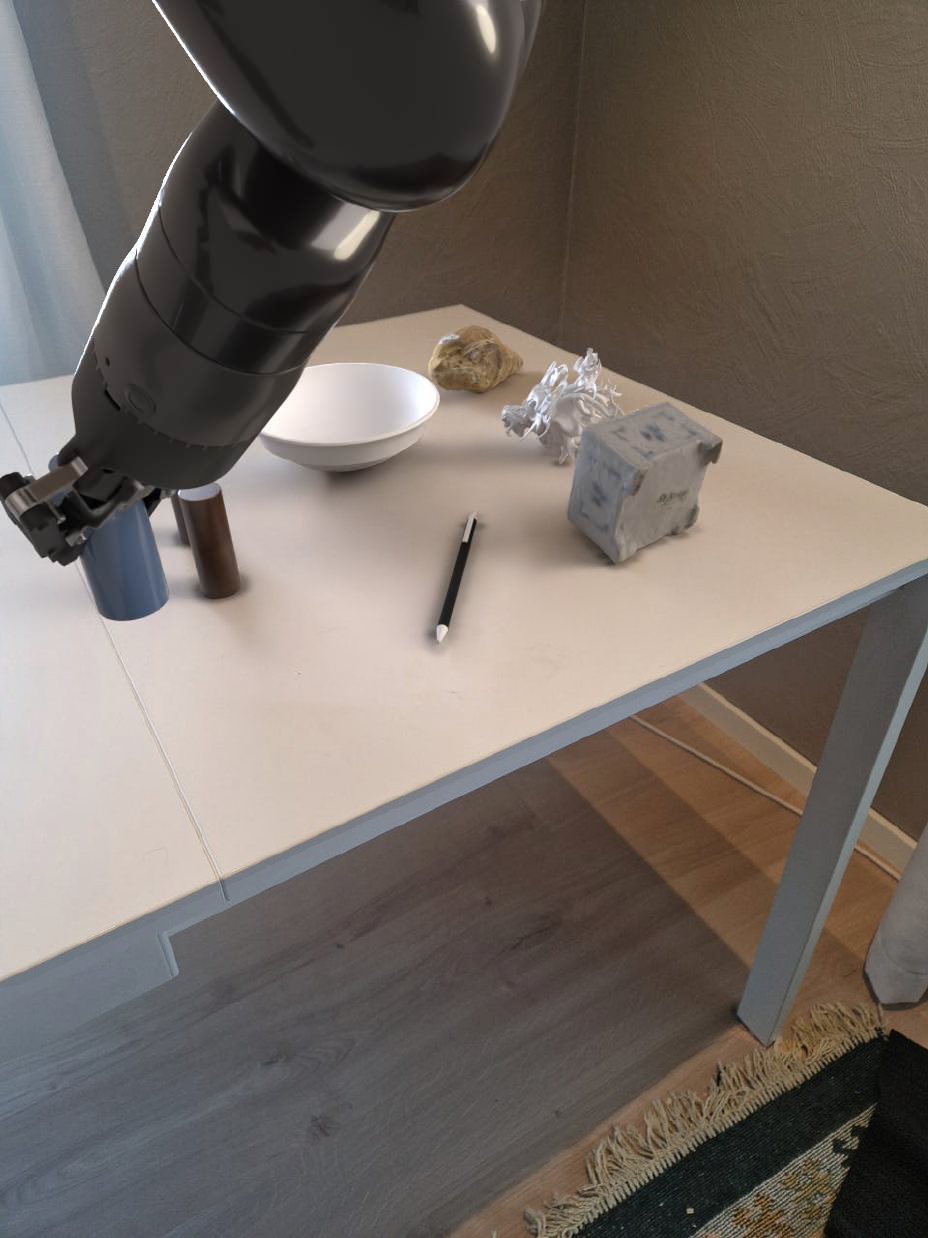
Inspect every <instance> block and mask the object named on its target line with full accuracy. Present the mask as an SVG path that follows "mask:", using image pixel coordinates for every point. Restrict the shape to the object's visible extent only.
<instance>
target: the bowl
mask: <svg viewBox="0 0 928 1238" xmlns="http://www.w3.org/2000/svg"><path fill="white" fill-rule="evenodd" d="M439 392H440V391H439V390H438V389H437V387H436V385H435V383H434V382H432V381H431V380H429V379H428V378H427V377H425V376H423V375H421V374H420V373H418V372H416V371H412V370H409V369H406V368H402V367H398V366H393V365H388V364H381V363H371V362H340V363H339V362H337V363H327V364H319V365H313V366H306V367H305V369H304V371H303V373H302V375H301V378H300V379H299V381H298V383H297V385H296V386H295V388H294V389H293V391H292V392H291V393H290V395H289V396H288V398H287V399H286V400H285V402H284V403H283V404H282V406H281V407H280V408H279V409H278V411H277V412H276V413H275V414H274V416H273V417H272V418H271V419H270V421H269V422H268V423H267V425H266V426H265V427H264V428H263V430H262V431H261V432H260V433H259V435H258V436H257V438H258V440H259V442H260V443H261V445H262V446H263V448H264V449H265V450H266V451H268V452H270V453H271V454H272V455H274V456H277V457H279V458H281V459H283V460H287V461H289V462H293V463H295V464H297V465H300V466H302V467H305V468H308V469H311V470H312V469H313V470H318V471H326V472H335V473H336V472H339V473H341V472H352V471H359V470H364V469H367V468H371V467H374V466H376V465H379V464H382V463H384V462H386V461H388V460H390V459H392V458H393V457H395V456H397V455H398V454H399V453H401V452H402V451H405V450H406V449H408V448H410V447H411V446H413V445H414V444H416V443H417V442H418V440H420V438H421V437H422V436H424V433H425V430H426V428H427V425H428V422H429V420H430V418H431V417H432V416H433V414H435V412H436V411H437V410H438V408H439V406H440V402H441V401H440V400H441V399H440V393H439Z"/></svg>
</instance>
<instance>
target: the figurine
mask: <svg viewBox="0 0 928 1238" xmlns="http://www.w3.org/2000/svg"><path fill="white" fill-rule="evenodd" d="M582 360H583V356H582V355H581V356H580V357H579V358H578V359H577V360H576V362H575V363H574V365H573V367H572V371H573V372H575V373H578V374H579V376H578V377H577V379H575V380H574V381H573V382H571V383H569V382H568V380H567V378H568V377H569V374H568V373H569V367H568V365H567V364H565V363H563V364H561V365H559V366H558V367H556V366H557V364H558V361H556V360H554V361H553V362H552V363H551V365H550V366H549V368H548V369H547V371H546V373H545V374H544V375H543V378H542V380H541V381H540V383H537V384H535V385H534V386H533V387H532V389H531V391H530V393H529V395H528V396H527V397H526V398H525V400H524V401H523V402H522V403H521V405H517V404H515V405H514V404H513V405H510V404H506V405H504V407H503V408H502V411H501V416H500V420H501V421H502V422H503V428H505V434H506V436H507V437H509V438H511V437H512V434H510V432H511V431H512V432H514V434H515V435H516V436H517V437H519V438H520V439H519V441H518V443H521V442H522V441H523V440H524V439H525V438H526V437H527V436H528V435H529V434H530V433H534V434H535V435H537V437H536V438H535V439H536V440H538V441H539V443H540V444H541V445H542V446H543V447H545V449H547V450H552V451H554V452H561V453H560V456H559V460H558V465H559V466H560V465H562V464H563V462H564V461H565V460H566V458H567V457H568V458H569V459H570V461H571V462H572V463H573V464H574V465H576V459H577V458H576V457H575V452H578V450H579V446H578V445H577V444H576V443H575V437H581V432H582V430H583V429H584V428H585V427H586V426H588V425H591V424H595V423H598V422H601V421H604V420H608V419H611V418H616V417H620V416H622V415H625V413H624V411H623V410H622V409H621V408H620V407H619V406H620V403H617V404H616V403H615V402H614V398H620V397H621V396H622V392H620V391H619V393H618V392H616V389H617V385H618V384H615V385H614V388H613V387H612V382H611V380H610V379H609V378H607V381H608V384H607V383H606V384H605V385H604V381H603V380H601V384H599V385H598V386H597V384H596V380H597V378H598V376H599V375H600V374H601V373H602V366H603V365H602V363H601V359H600V358H599V357H598V352H594V349H593V348H592V347H587V351H586V355H585V356H584V360H583V361H582ZM581 361H582V363H581ZM580 363H581V364H580ZM562 367H563V368H562ZM598 367H600V368H599V370H598V369H597V368H598ZM561 368H562V369H561ZM560 369H561V370H560ZM594 372H595V373H594ZM566 373H567V374H566ZM562 376H563V378H562ZM560 378H562V379H561V381H560V382H559V384H558V386H557V387H556V388H555V389H554V390H552V388H553V386H554V385H555V384H556V383H557V382H558V381H559V380H560ZM603 385H604V386H603ZM606 393H607V394H606ZM604 394H606V395H604ZM608 402H609V404H608ZM645 406H646V407H649V405H648V404H645ZM519 410H520V411H519ZM638 410H639V409H638V408H636V409H635V411H638ZM631 412H634V410H633V409H632V410H631ZM602 414H603V415H602ZM617 414H620V416H618V415H617ZM527 428H528V430H527V432H526V433H525V430H526V429H527Z"/></svg>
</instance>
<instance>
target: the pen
mask: <svg viewBox="0 0 928 1238" xmlns="http://www.w3.org/2000/svg"><path fill="white" fill-rule="evenodd" d="M476 516H477V511H475V510H473V511H472V512H471V514H469V516H468V517H467V519H466V523H465V526H464V530H463V534H462V537H461V541H460V545H459V548H458V551H457V555H456V558H455V562H454V566H453V570H452V572H451V576H450V580H449V583H448V587H447V591H446V593H445V596H444V601H443V603H442V607H441V612H440V615H439V618H438V622H437V625H436V642H437V644H438V645H439V644H440V643H441V642H442V641H443V639H444V638H445V636H446V635H447V633H448V631H449V628H450V624H451V621H452V616H453V613H454V608H455V605H456V601H457V598H458V594H459V591H460V586H461V583H462V579H463V576H464V571H465V568H466V564H467V560H468V556H469V553H470V549H471V545H472V542H473V538H474V535H475V531H476V527H477V524H478V523H477V522H478V518H477V517H476Z"/></svg>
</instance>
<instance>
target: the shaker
mask: <svg viewBox="0 0 928 1238" xmlns="http://www.w3.org/2000/svg"><path fill="white" fill-rule="evenodd" d="M58 453H59V452H57V453H55V455H53V456H52V457H51V458H50V460H49V461H48V464H47V469H48V471H49V472H51V471H53V470H54V469H55V468H56V467H57V455H58ZM68 501H69V502H70V500H68ZM108 502H109V501H108ZM70 504H71V505H72V506H73V508H74V509H75V510H76V511H77V513H78V514H79V515H80V513H79V512H78V510H77V509H76V508H75V507H74V505H73V504H72V503H71V502H70ZM155 538H156V537H155V535H154V531H153V527H152V524H151V520H150V518H149V516H148V513H147V509H146V505H145V502H144V498H141V499H139V500H136V501H135V502H134V503H133V505H132V506H131V507H130V508H129V509H128V510H127V511H126V512H125V513H124V514H123V515H122V517H121V518H120V519H119V520H118V521H116V522H114V523H112V524H109V525H107V526H105V527H102V528H100V529H98V530H95V531H94V532H93V533H92V534H91V537H90V538H89V540H88V542H87V543H86V545H85V547H84V548H83V549H82V551H81V553H80V555H79V557H78V558H79V560H80V564H81V566H82V569H83V573H84V575H85V578H86V581H87V584H88V587H89V590H90V593H91V596H92V598H93V602H94V605H95V607H96V610H97V612H98V614H99V615H100V616H101V617H103V618H104V619H107V620H110V621H114V622H129V621H131V622H132V621H136V620H140V619H143V618H144V619H145V618H146V617H150V616H151V615H153V614H155V613H156V612H158V611H160V610H161V609H162V608H163V607H164V606H165V605H166V604H167V603H168V601H169V599H170V593H171V592H170V588H169V585H168V581H167V578H166V573H165V571H164V567H163V563H162V559H161V556H160V552H159V549H158V544H157V542H156V539H155Z"/></svg>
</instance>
